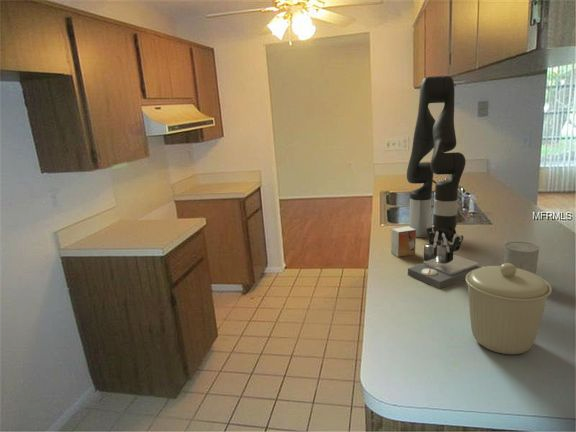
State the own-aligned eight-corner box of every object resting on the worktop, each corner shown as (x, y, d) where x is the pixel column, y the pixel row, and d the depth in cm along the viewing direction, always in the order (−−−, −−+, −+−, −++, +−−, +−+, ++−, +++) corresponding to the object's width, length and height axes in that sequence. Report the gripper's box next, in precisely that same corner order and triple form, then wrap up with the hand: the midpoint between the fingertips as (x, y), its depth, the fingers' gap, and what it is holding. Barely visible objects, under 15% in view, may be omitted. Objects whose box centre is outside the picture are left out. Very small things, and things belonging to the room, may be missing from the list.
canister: (473, 316, 111) (478, 246, 106) (549, 337, 100) (559, 259, 94) (451, 347, 98) (456, 268, 92) (536, 375, 86) (547, 287, 81)
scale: (448, 261, 150) (448, 253, 149) (481, 273, 138) (482, 265, 137) (407, 274, 141) (407, 266, 140) (439, 288, 129) (439, 280, 128)
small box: (397, 257, 157) (398, 232, 154) (390, 252, 162) (390, 228, 159) (415, 254, 159) (416, 229, 156) (408, 250, 164) (408, 225, 161)
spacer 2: (442, 257, 140) (442, 242, 139) (452, 261, 137) (453, 245, 135) (433, 260, 138) (434, 244, 137) (443, 264, 135) (444, 248, 133)
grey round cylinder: (505, 273, 137) (508, 239, 134) (537, 279, 131) (541, 244, 128) (498, 283, 130) (502, 248, 127) (532, 290, 124) (536, 253, 121)
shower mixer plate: (450, 255, 148) (450, 253, 148) (478, 265, 138) (478, 263, 138) (423, 264, 142) (423, 261, 142) (451, 275, 132) (451, 272, 131)
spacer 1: (429, 257, 155) (429, 242, 154) (438, 260, 151) (438, 245, 150) (421, 259, 153) (421, 245, 152) (430, 263, 149) (430, 248, 148)
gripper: (471, 214, 129) (467, 263, 133) (436, 206, 141) (434, 251, 145) (455, 218, 125) (452, 268, 130) (421, 210, 137) (419, 256, 142)
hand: (443, 259), depth 137 cm, fingers closed on spacer 2, 4 cm apart
